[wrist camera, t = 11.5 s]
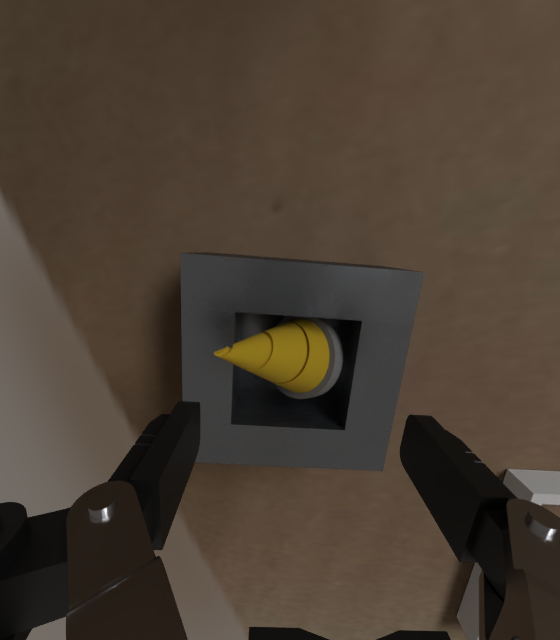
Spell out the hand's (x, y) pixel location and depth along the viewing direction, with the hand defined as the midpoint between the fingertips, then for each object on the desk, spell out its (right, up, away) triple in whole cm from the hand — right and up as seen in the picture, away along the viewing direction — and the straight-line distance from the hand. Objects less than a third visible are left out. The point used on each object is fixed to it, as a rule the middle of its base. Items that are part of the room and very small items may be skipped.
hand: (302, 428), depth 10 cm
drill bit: (-1, +3, +9) cm, 10 cm away
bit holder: (0, +2, +10) cm, 10 cm away
